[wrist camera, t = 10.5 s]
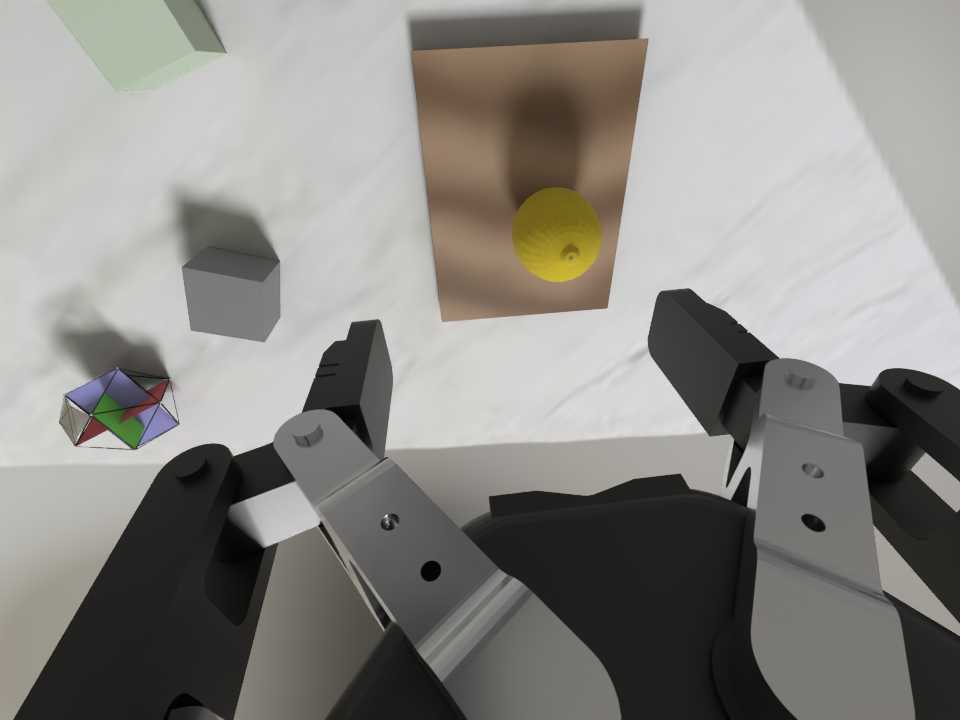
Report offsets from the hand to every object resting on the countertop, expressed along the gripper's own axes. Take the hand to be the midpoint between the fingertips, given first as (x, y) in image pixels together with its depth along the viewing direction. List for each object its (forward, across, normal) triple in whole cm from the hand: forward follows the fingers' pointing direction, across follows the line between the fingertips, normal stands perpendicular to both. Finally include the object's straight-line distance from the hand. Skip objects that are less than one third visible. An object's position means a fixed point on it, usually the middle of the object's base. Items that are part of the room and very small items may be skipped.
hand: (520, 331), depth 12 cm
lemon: (+20, -5, +3) cm, 21 cm away
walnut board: (+21, -4, +2) cm, 22 cm away
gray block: (+21, +18, +7) cm, 29 cm away
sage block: (+22, +17, -9) cm, 29 cm away
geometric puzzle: (+21, +30, +16) cm, 40 cm away
